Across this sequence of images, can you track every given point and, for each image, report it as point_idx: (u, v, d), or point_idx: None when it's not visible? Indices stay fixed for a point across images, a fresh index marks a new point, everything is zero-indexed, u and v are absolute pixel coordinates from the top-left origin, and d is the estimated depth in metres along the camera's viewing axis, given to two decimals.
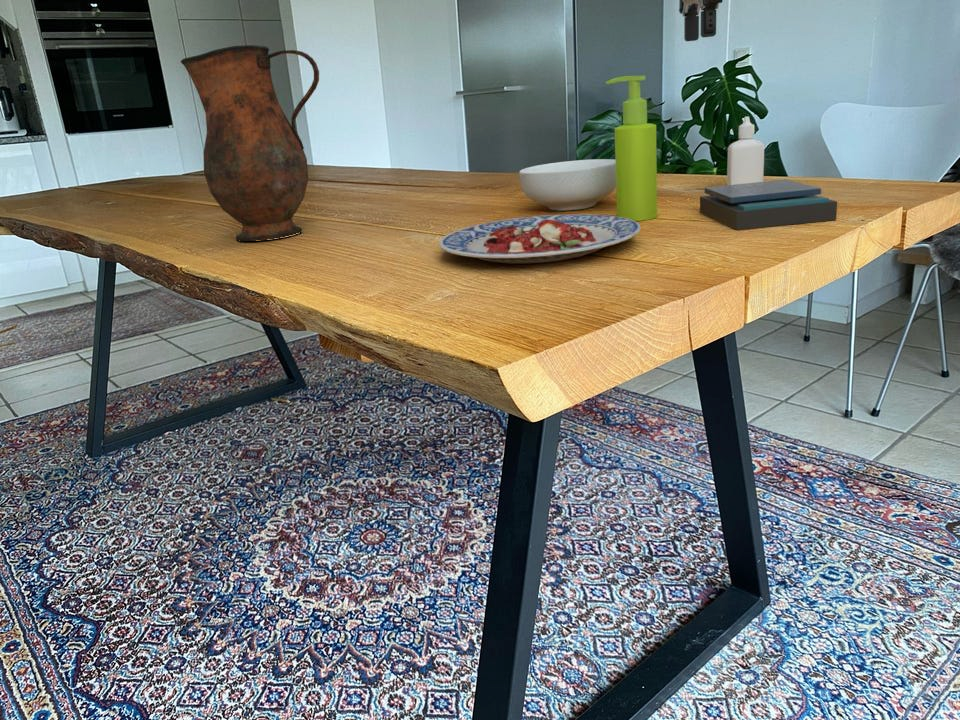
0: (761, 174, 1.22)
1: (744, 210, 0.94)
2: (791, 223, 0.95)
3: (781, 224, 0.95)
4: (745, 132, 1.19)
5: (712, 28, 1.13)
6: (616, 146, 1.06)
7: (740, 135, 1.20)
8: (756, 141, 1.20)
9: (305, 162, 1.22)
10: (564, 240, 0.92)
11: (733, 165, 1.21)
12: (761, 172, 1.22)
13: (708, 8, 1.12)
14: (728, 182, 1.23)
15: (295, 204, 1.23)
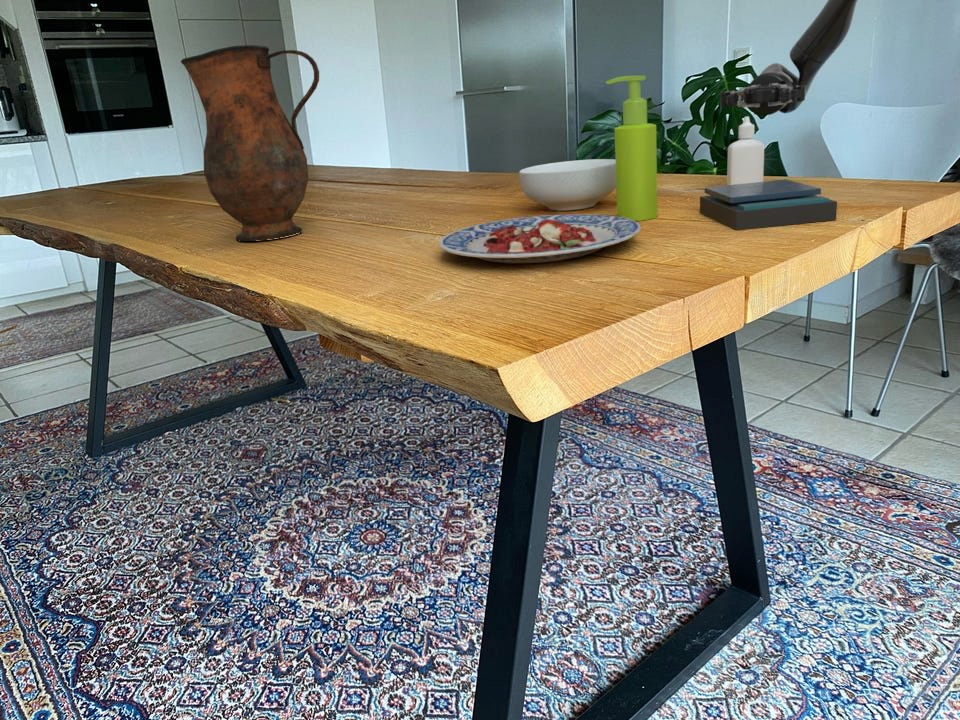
0: (761, 174, 1.22)
1: (744, 210, 0.94)
2: (791, 223, 0.95)
3: (781, 224, 0.95)
4: (745, 132, 1.19)
5: (790, 97, 1.26)
6: (616, 146, 1.06)
7: (740, 135, 1.20)
8: (756, 141, 1.20)
9: (305, 162, 1.22)
10: (564, 240, 0.92)
11: (733, 165, 1.21)
12: (761, 172, 1.22)
13: (794, 91, 1.28)
14: (728, 182, 1.23)
15: (295, 204, 1.23)
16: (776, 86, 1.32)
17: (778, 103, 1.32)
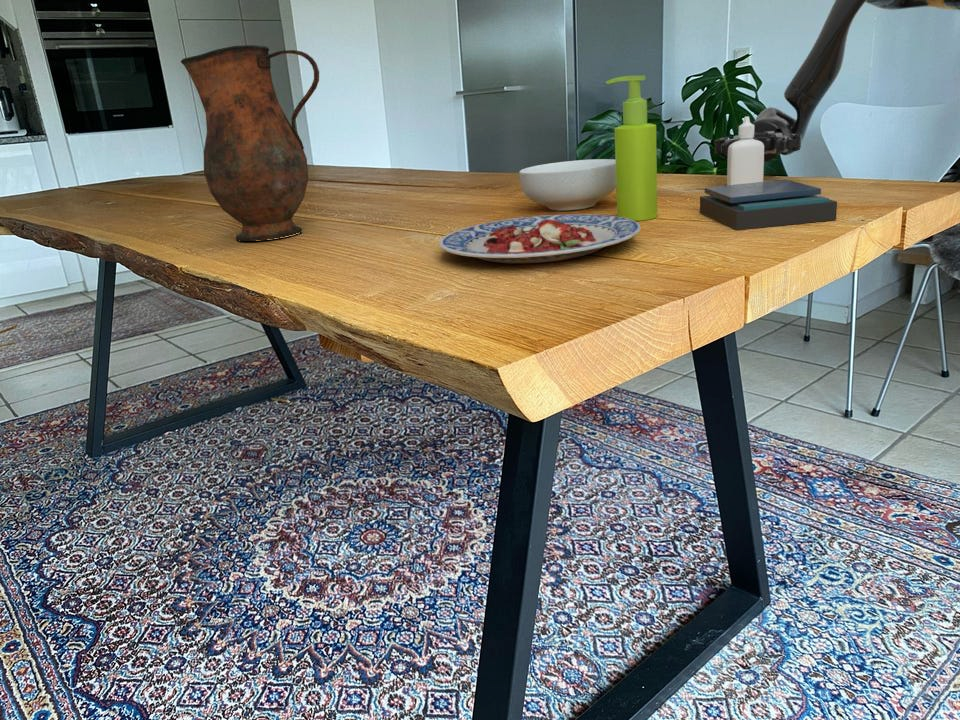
0: (761, 174, 1.22)
1: (744, 210, 0.94)
2: (791, 223, 0.95)
3: (781, 224, 0.95)
4: (745, 132, 1.19)
5: (785, 147, 1.24)
6: (616, 146, 1.06)
7: (740, 135, 1.20)
8: (756, 141, 1.20)
9: (305, 162, 1.22)
10: (564, 240, 0.92)
11: (733, 165, 1.21)
12: (761, 172, 1.22)
13: (789, 141, 1.26)
14: (728, 182, 1.23)
15: (295, 204, 1.23)
16: (771, 134, 1.30)
17: (773, 152, 1.30)
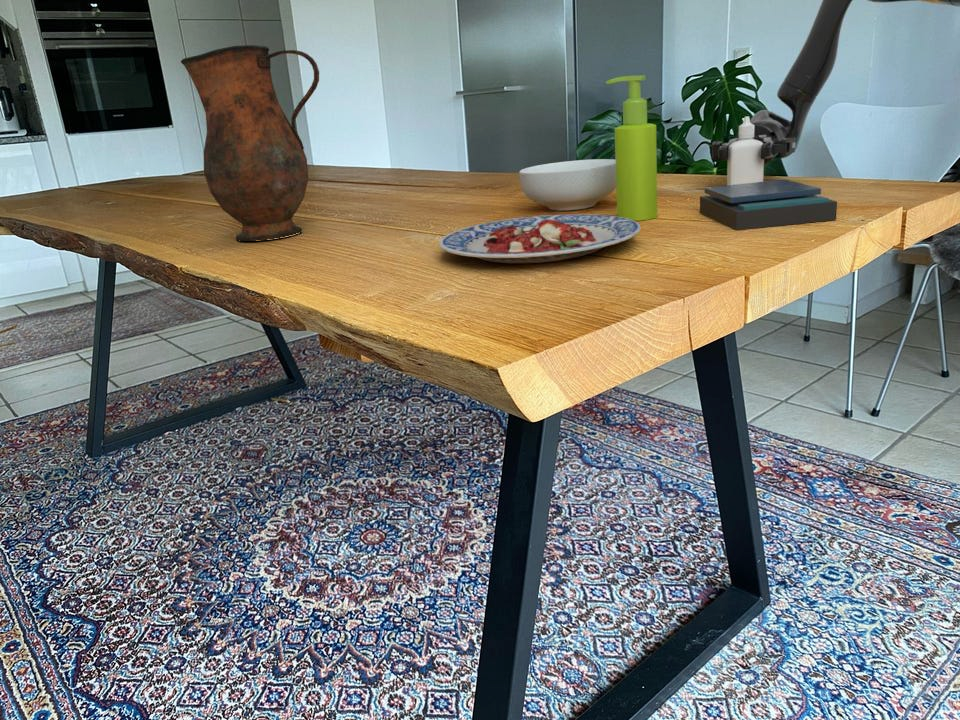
0: (761, 174, 1.22)
1: (744, 210, 0.94)
2: (791, 223, 0.95)
3: (781, 224, 0.95)
4: (745, 132, 1.19)
5: (770, 153, 1.18)
6: (616, 146, 1.06)
7: (740, 135, 1.20)
8: (756, 141, 1.20)
9: (305, 162, 1.22)
10: (564, 240, 0.92)
11: (733, 165, 1.21)
12: (761, 172, 1.22)
13: (775, 146, 1.20)
14: (728, 182, 1.23)
15: (295, 204, 1.23)
16: (761, 139, 1.24)
17: None
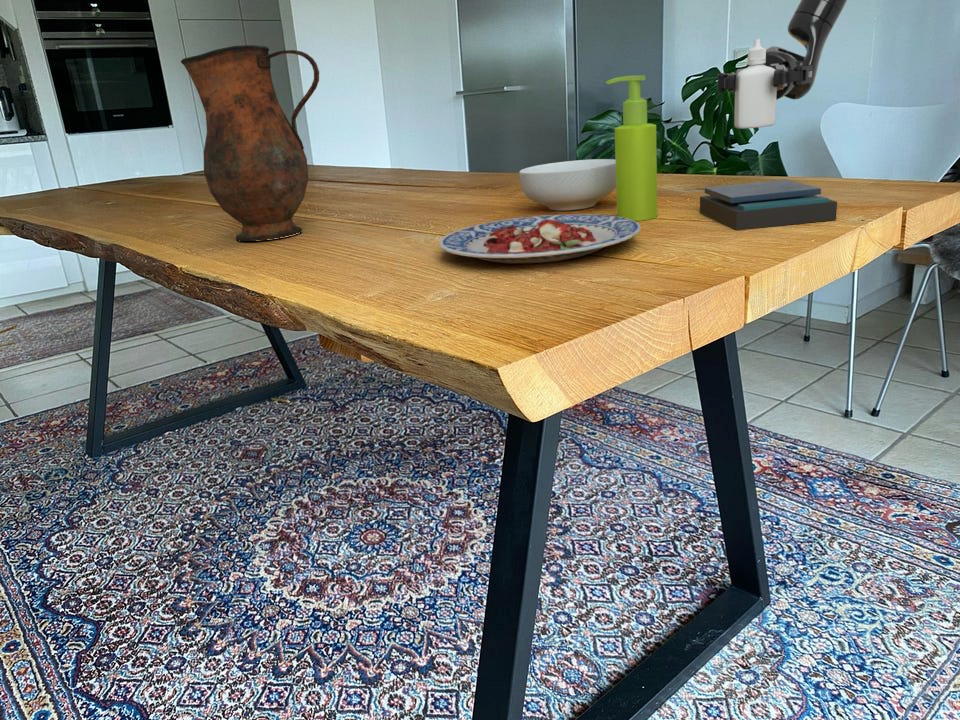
0: (773, 106, 1.07)
1: (744, 210, 0.94)
2: (791, 223, 0.95)
3: (781, 224, 0.95)
4: (755, 57, 1.05)
5: (784, 80, 1.04)
6: (616, 146, 1.06)
7: (749, 61, 1.05)
8: (768, 67, 1.05)
9: (305, 162, 1.22)
10: (564, 240, 0.92)
11: (742, 96, 1.06)
12: (773, 104, 1.07)
13: (789, 73, 1.05)
14: (735, 116, 1.08)
15: (295, 204, 1.23)
16: (773, 67, 1.09)
17: None
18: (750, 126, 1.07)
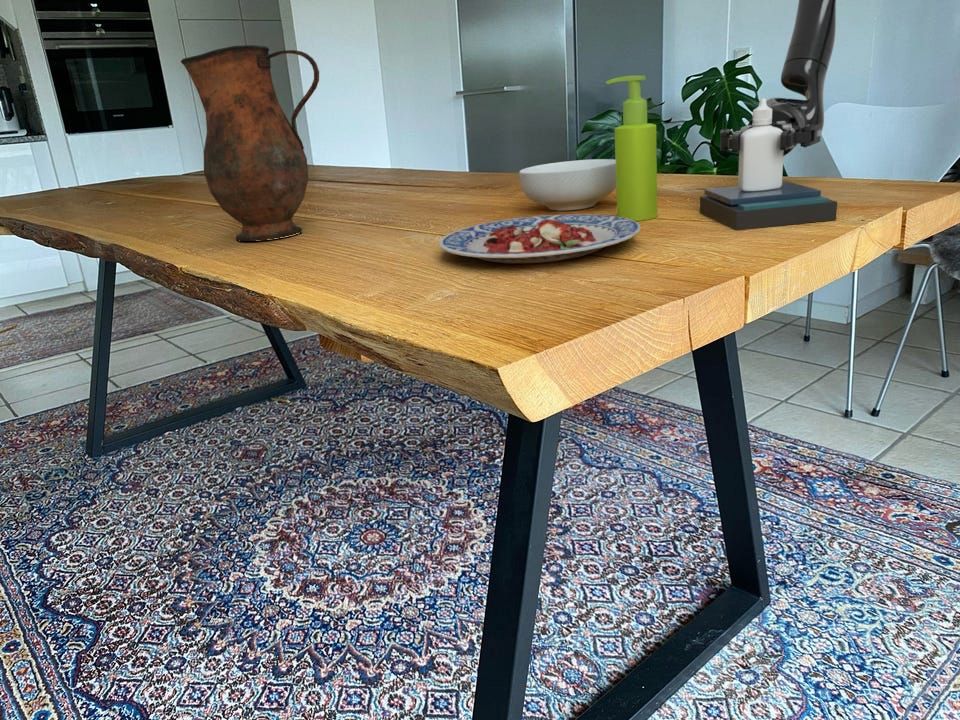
0: (780, 168, 1.00)
1: (744, 210, 0.94)
2: (791, 223, 0.95)
3: (781, 224, 0.95)
4: (761, 117, 0.98)
5: (792, 143, 0.97)
6: (616, 146, 1.06)
7: (755, 121, 0.99)
8: (774, 128, 0.99)
9: (305, 162, 1.22)
10: (564, 240, 0.92)
11: (746, 158, 1.00)
12: (780, 166, 1.00)
13: (796, 134, 0.99)
14: (739, 178, 1.02)
15: (295, 204, 1.23)
16: (779, 126, 1.03)
17: None
18: (755, 189, 1.01)
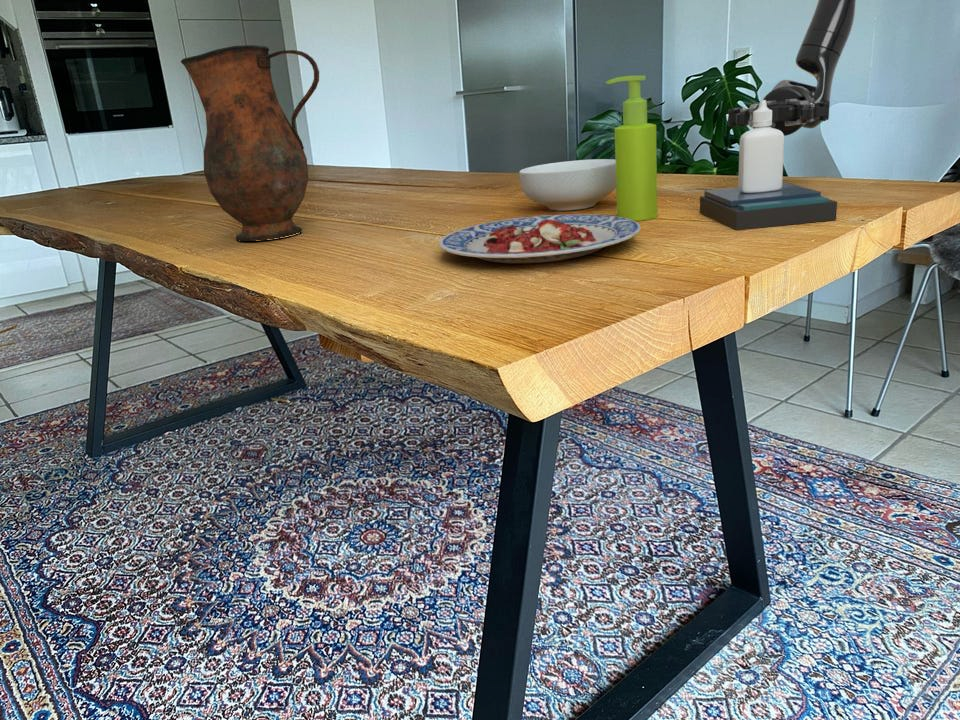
0: (780, 170, 1.00)
1: (744, 210, 0.94)
2: (791, 223, 0.95)
3: (781, 224, 0.95)
4: (761, 119, 0.98)
5: (812, 116, 1.06)
6: (616, 146, 1.06)
7: (755, 123, 0.99)
8: (774, 130, 0.99)
9: (305, 162, 1.22)
10: (564, 240, 0.92)
11: (746, 159, 1.00)
12: (780, 168, 1.00)
13: (816, 109, 1.07)
14: (739, 180, 1.02)
15: (295, 204, 1.23)
16: (795, 102, 1.11)
17: (797, 122, 1.11)
18: (755, 191, 1.01)
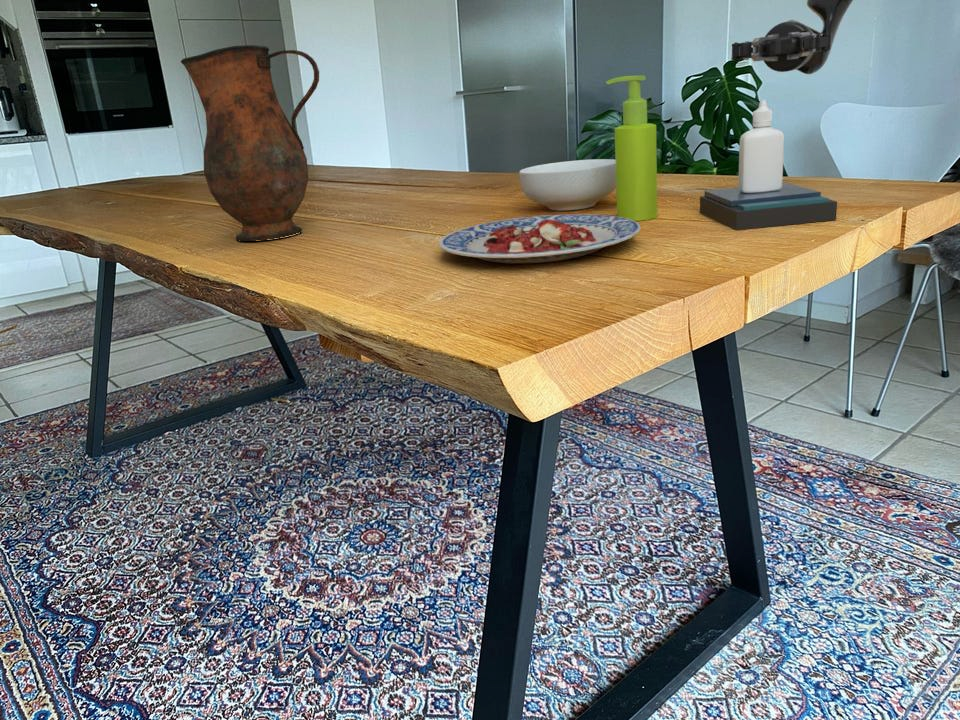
0: (780, 170, 1.00)
1: (744, 210, 0.94)
2: (791, 223, 0.95)
3: (781, 224, 0.95)
4: (761, 119, 0.98)
5: (814, 44, 1.08)
6: (616, 146, 1.06)
7: (755, 123, 0.99)
8: (774, 130, 0.99)
9: (305, 162, 1.22)
10: (564, 240, 0.92)
11: (746, 159, 1.00)
12: (780, 168, 1.00)
13: (818, 39, 1.09)
14: (739, 180, 1.02)
15: (295, 204, 1.23)
16: (797, 35, 1.13)
17: (799, 54, 1.13)
18: (755, 191, 1.01)
